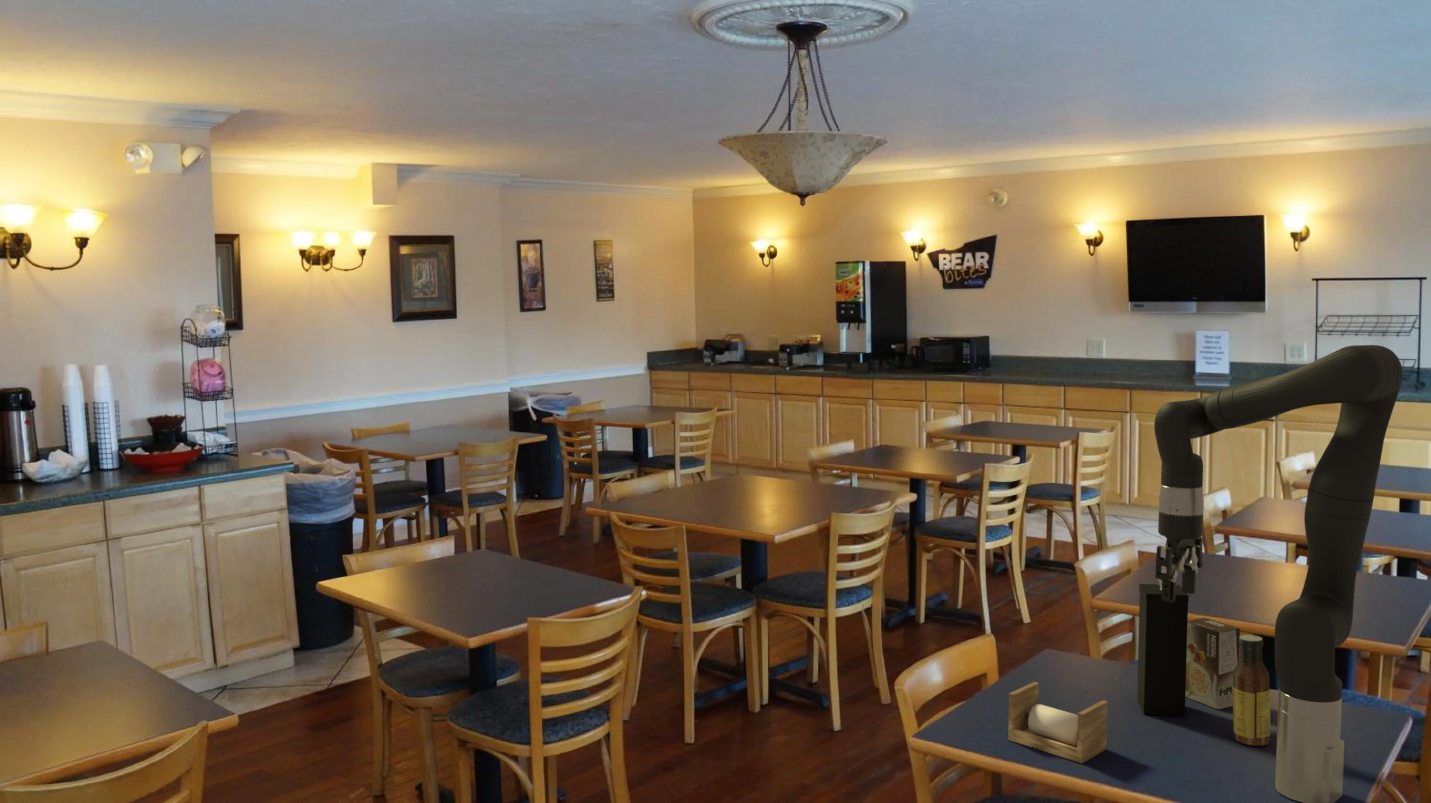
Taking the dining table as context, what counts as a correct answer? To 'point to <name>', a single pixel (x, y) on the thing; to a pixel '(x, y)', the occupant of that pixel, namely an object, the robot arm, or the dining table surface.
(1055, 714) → the cylinder
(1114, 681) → the dining table surface
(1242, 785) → the dining table surface
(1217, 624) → the coffee box
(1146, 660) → the tissue box
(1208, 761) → the dining table surface
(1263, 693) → the sauce bottle
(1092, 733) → the holder
